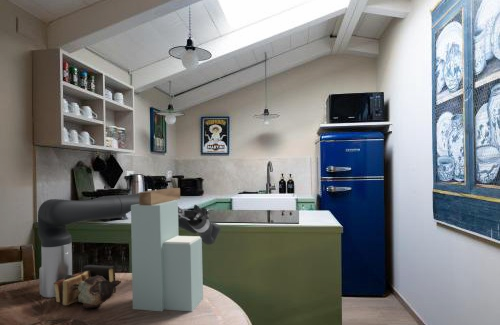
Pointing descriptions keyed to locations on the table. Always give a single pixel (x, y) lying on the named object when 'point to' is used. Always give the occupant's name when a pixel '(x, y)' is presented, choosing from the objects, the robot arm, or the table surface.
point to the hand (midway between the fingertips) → (184, 206)
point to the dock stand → (164, 260)
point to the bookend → (87, 286)
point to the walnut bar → (159, 196)
